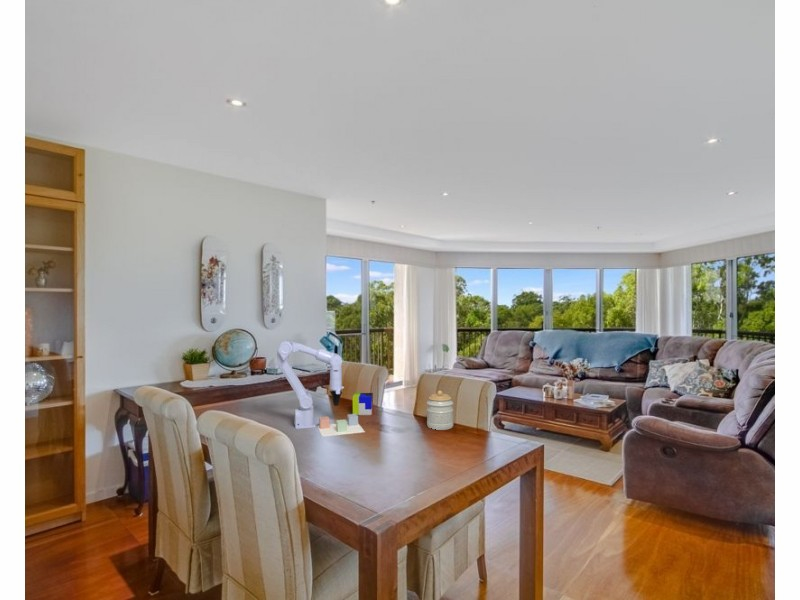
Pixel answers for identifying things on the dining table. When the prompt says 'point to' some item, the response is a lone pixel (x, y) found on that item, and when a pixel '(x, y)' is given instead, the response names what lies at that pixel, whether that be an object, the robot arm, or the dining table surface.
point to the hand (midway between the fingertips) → (336, 405)
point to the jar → (440, 411)
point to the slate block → (352, 419)
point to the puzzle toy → (363, 403)
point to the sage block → (341, 425)
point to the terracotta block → (324, 422)
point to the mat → (333, 431)
